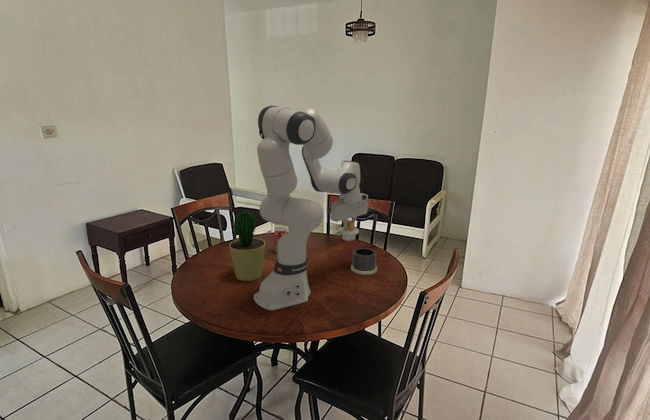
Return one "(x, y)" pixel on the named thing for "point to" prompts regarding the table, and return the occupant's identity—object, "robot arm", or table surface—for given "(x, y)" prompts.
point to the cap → (349, 231)
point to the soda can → (278, 236)
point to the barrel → (364, 261)
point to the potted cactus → (247, 249)
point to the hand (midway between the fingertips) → (349, 226)
